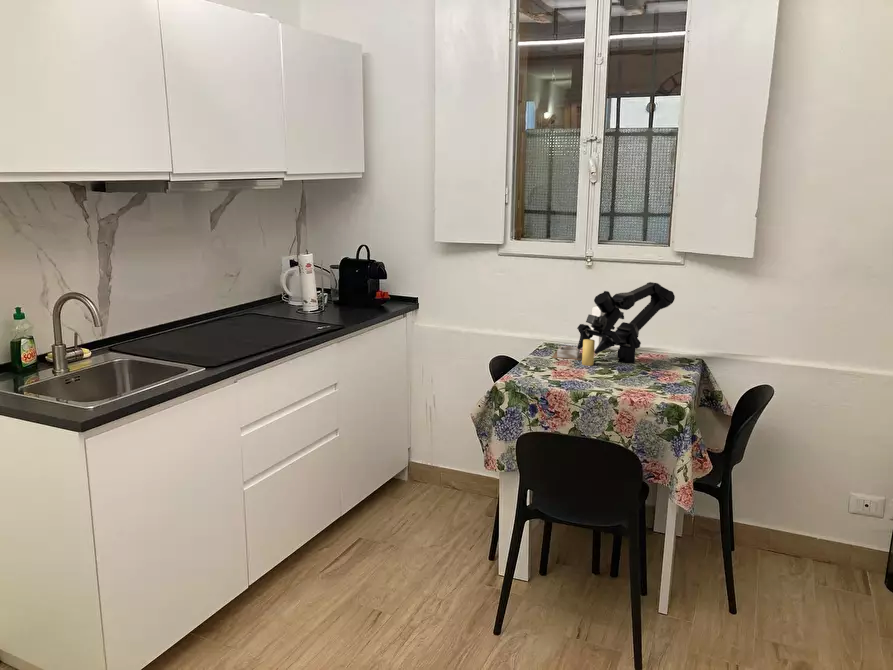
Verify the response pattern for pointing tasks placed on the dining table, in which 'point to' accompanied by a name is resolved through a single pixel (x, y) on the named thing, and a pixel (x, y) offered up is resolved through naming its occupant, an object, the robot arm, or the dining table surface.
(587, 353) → the post
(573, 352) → the stand
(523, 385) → the dining table surface
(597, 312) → the milk
